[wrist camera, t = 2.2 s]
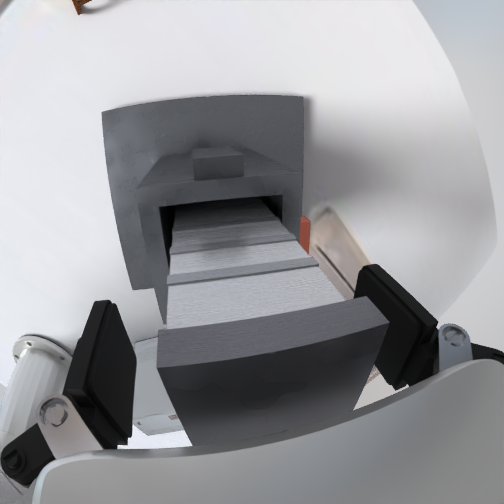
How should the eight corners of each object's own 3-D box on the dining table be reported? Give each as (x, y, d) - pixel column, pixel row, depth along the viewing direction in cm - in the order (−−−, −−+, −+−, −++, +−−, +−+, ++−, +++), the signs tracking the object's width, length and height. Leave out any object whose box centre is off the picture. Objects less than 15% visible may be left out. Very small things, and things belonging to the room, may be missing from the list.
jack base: (293, 262, 32) (350, 343, 20) (134, 282, 29) (114, 380, 17) (297, 97, 24) (385, 88, 12) (106, 112, 20) (33, 110, 9)
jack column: (236, 225, 26) (336, 442, 8) (186, 231, 25) (205, 471, 7) (233, 161, 23) (391, 321, 5) (179, 166, 23) (153, 367, 4)
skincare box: (148, 361, 34) (146, 438, 24) (133, 339, 32) (124, 420, 22) (189, 351, 35) (198, 430, 24) (176, 328, 33) (180, 411, 22)
